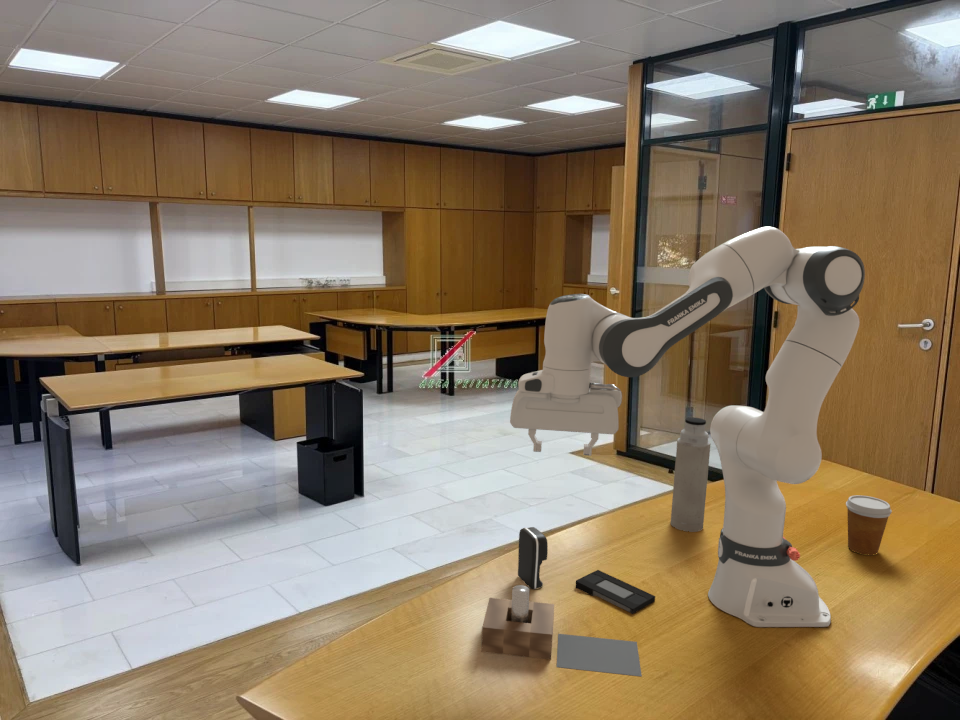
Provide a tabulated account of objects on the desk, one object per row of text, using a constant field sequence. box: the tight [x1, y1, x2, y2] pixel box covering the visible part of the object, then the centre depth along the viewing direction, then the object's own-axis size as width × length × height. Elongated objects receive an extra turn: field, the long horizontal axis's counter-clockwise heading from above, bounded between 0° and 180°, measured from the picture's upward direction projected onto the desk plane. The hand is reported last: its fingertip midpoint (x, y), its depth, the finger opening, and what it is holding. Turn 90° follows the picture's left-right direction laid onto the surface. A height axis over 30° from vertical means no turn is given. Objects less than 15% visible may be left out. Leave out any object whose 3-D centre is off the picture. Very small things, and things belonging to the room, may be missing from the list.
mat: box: [556, 633, 643, 677], centre depth 120 cm, size 14×10×1 cm
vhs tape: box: [574, 569, 656, 615], centre depth 140 cm, size 8×14×2 cm, turn 43°
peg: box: [511, 584, 530, 623], centre depth 122 cm, size 3×3×10 cm
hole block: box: [481, 597, 555, 660], centre depth 123 cm, size 12×10×5 cm
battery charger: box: [517, 526, 549, 590], centre depth 144 cm, size 7×4×11 cm, turn 23°
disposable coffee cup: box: [845, 494, 892, 556], centre depth 164 cm, size 10×10×12 cm
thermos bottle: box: [670, 416, 711, 533], centre depth 173 cm, size 8×8×28 cm
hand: (562, 452), depth 131 cm, fingers open, 8 cm apart
